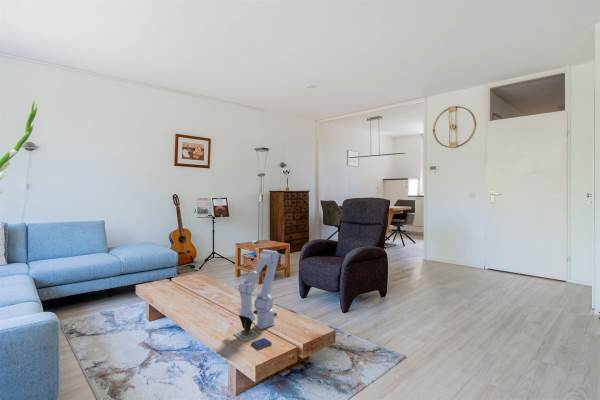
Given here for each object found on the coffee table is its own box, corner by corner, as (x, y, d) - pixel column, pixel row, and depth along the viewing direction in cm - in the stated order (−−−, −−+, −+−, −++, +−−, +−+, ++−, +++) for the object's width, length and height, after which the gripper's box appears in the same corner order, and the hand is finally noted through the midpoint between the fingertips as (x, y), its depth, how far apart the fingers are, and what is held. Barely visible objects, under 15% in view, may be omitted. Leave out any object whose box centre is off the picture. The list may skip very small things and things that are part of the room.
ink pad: (264, 339, 172) (264, 337, 172) (271, 344, 167) (271, 342, 167) (251, 344, 168) (251, 341, 167) (258, 349, 162) (258, 347, 162)
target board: (250, 329, 185) (250, 328, 185) (259, 335, 177) (259, 334, 177) (234, 334, 178) (234, 333, 178) (242, 341, 171) (242, 340, 171)
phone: (262, 307, 215) (277, 313, 205) (262, 309, 215) (277, 315, 205) (252, 311, 209) (268, 317, 199) (252, 313, 209) (268, 319, 199)
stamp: (248, 331, 181) (248, 320, 180) (252, 333, 178) (252, 322, 178) (241, 333, 177) (241, 322, 177) (245, 336, 175) (244, 325, 174)
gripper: (233, 302, 180) (233, 326, 181) (246, 310, 169) (246, 336, 169) (244, 299, 184) (245, 323, 185) (258, 307, 173) (258, 332, 174)
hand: (246, 329), depth 177 cm, fingers closed on stamp, 3 cm apart
